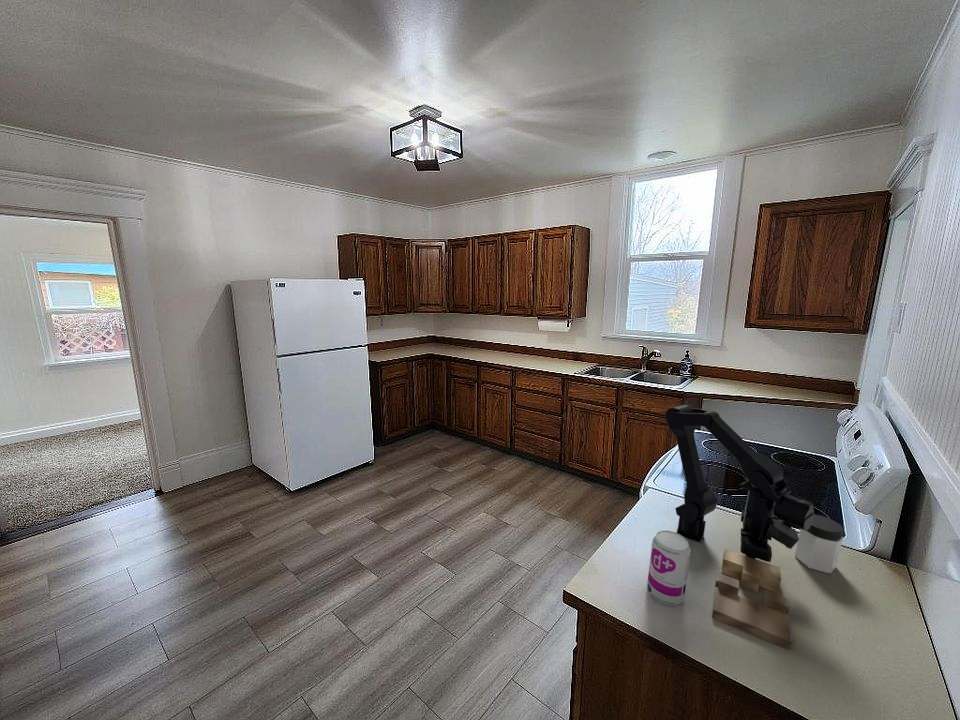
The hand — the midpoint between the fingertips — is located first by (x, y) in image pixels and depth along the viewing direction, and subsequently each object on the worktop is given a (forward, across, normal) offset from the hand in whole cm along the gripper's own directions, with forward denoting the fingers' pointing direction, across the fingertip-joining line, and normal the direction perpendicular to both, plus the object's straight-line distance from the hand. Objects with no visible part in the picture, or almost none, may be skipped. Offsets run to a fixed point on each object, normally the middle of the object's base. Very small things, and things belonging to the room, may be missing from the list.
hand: (750, 561), depth 104 cm
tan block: (+2, -6, 0) cm, 6 cm away
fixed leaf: (+2, -18, 0) cm, 18 cm away
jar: (+2, +13, -15) cm, 20 cm away
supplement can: (+2, -23, +17) cm, 29 cm away
